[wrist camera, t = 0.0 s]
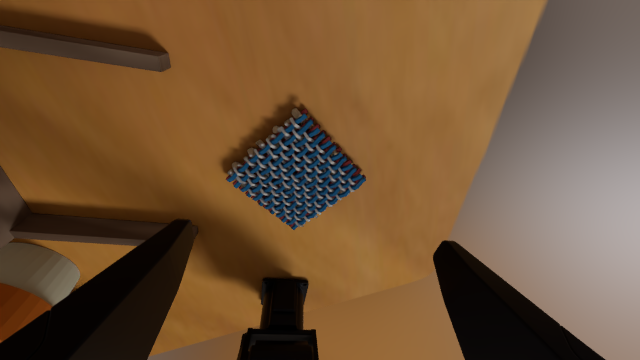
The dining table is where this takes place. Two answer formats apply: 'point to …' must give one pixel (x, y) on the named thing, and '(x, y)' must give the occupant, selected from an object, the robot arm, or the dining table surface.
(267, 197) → the woven mat
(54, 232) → the box
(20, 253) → the reusable coffee cup
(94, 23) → the dining table surface
